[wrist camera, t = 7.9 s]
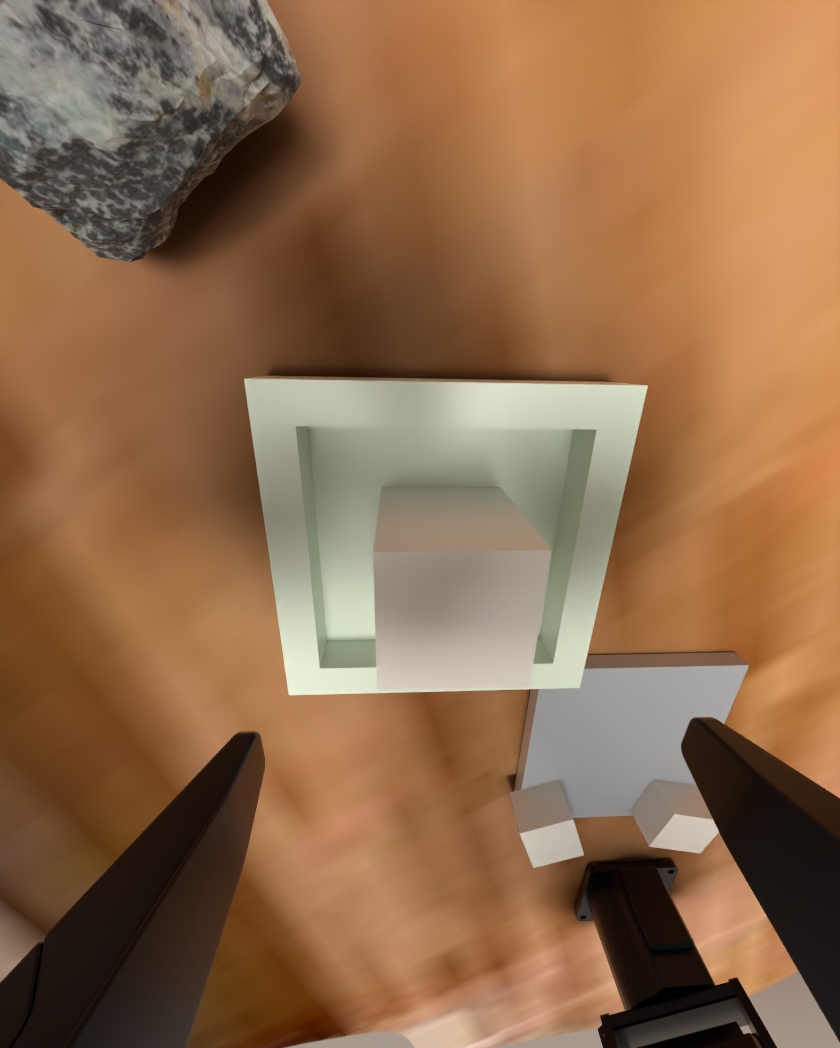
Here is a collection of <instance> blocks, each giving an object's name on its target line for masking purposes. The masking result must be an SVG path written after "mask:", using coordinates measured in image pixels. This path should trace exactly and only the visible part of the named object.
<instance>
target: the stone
mask: <svg viewBox="0 0 840 1048" xmlns="http://www.w3.org/2000/svg"><path fill="white" fill-rule="evenodd" d="M300 83H301V76H300V72H299V69H298V66H297V63H296V61H295V58H294V56H293V53H292V51H291V49H290V47H289V43H288V40H287V38H286V36H285V34H284V33H283V31H282V29H281V27H280V25H279V23H278V21H277V19H276V17H275V15H274V13H273V11H272V10H271V8H270V6H269V4H268V2H267V0H0V179H2V180H3V181H4V182H6V183H7V184H8V185H9V186H11V187H12V188H13V189H14V190H16V191H17V192H18V193H19V194H20V195H21V196H22V197H23V198H25V199H26V200H27V201H28V202H29V203H30V204H31V205H32V206H33V207H37V208H40V209H41V210H43V211H45V212H46V213H48V214H49V215H51V216H52V217H53V218H54V219H55V220H56V221H57V222H59V223H60V224H61V225H62V226H63V227H64V228H66V229H67V230H68V231H69V232H70V233H71V234H72V235H73V236H74V237H75V238H77V239H79V240H80V241H81V242H82V243H83V244H84V245H85V246H86V247H87V248H91V249H92V250H93V251H94V252H95V253H96V255H97V256H98V257H103V258H108V259H113V260H119V261H125V262H132V261H135V260H139V259H142V258H143V257H144V255H145V254H146V253H147V252H148V251H149V250H150V249H151V248H156V247H158V246H159V245H161V244H163V243H164V241H165V240H166V239H167V238H168V236H169V235H170V233H171V231H172V229H173V227H174V225H175V222H176V218H177V215H178V208H179V206H180V205H181V204H182V203H183V202H184V201H185V200H186V198H187V197H188V195H189V194H190V193H191V192H192V190H193V189H194V188H195V187H196V186H197V185H198V184H199V183H200V182H201V181H202V180H203V179H204V177H206V176H208V175H210V174H212V173H214V172H215V170H216V168H217V167H218V165H219V163H220V162H221V160H222V159H223V158H224V157H225V155H226V154H228V153H229V152H230V151H231V150H232V149H233V147H234V146H235V145H237V144H238V143H239V142H240V141H241V140H242V139H243V138H245V137H246V136H247V135H249V134H250V133H252V132H253V131H254V130H256V129H257V128H259V127H261V126H262V125H264V124H266V123H267V122H269V121H271V120H272V119H274V118H275V117H276V116H277V115H278V114H279V113H280V112H281V111H282V110H283V108H284V107H285V106H286V105H287V103H288V102H289V100H290V99H291V97H292V96H293V94H294V93H295V91H296V90H297V88H298V87H299V85H300Z"/></svg>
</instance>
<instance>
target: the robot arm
mask: <svg viewBox="0 0 840 1048" xmlns="http://www.w3.org/2000/svg"><path fill="white" fill-rule="evenodd" d="M681 752H682V755H683V758H684V760H685V762H686V764H687V766H688V768H689V770H690V772H691V775H692V777H693V779H694V781H695V783H696V785H697V787H698V789H699V791H700V793H701V796H702V798H703V800H704V802H705V804H706V806H707V808H708V810H709V812H710V814H711V816H712V819H713V821H714V823H715V825H716V827H717V829H718V831H719V833H720V835H721V837H722V839H723V840H724V842H725V844H726V846H727V848H728V849H729V851H730V853H731V855H732V856H733V858H734V860H735V862H736V863H737V865H738V867H739V869H740V870H741V872H742V874H743V875H744V877H745V879H746V881H747V882H748V884H749V886H750V888H751V889H752V891H753V893H754V895H755V896H756V898H757V900H758V901H759V903H760V905H761V907H762V908H763V910H764V912H765V914H766V915H767V917H768V919H769V921H770V922H771V924H772V926H773V927H774V929H775V931H776V933H777V934H778V936H779V938H780V940H781V941H782V943H783V945H784V947H785V948H786V950H787V952H788V953H789V955H790V957H791V959H792V960H793V962H794V964H795V966H796V967H797V969H798V971H799V972H800V974H801V976H802V978H803V979H804V981H805V983H806V984H807V986H808V988H809V990H810V991H811V993H812V995H813V997H814V998H815V1000H816V1002H817V1004H818V1005H819V1007H820V1009H821V1011H822V1012H823V1014H824V1016H825V1018H826V1019H827V1021H828V1023H829V1024H830V1026H831V1028H832V1029H833V1031H834V1033H835V1035H836V1036H837V1038H838V1040H839V1042H840V798H838V797H837V796H835V795H834V794H832V793H831V792H829V791H827V790H826V789H824V788H823V787H821V786H820V785H818V784H817V783H815V782H813V781H812V780H810V779H809V778H807V777H806V776H804V775H803V774H801V773H800V772H798V771H796V770H795V769H793V768H792V767H790V766H789V765H787V764H786V763H784V762H782V761H781V760H779V759H778V758H776V757H775V756H773V755H772V754H770V753H768V752H767V751H765V750H764V749H762V748H761V747H759V746H758V745H756V744H754V743H753V742H751V741H750V740H748V739H747V738H745V737H744V736H742V735H740V734H739V733H737V732H736V731H734V730H733V729H731V728H730V727H728V726H726V725H725V724H723V723H722V722H720V721H719V720H717V719H715V718H712V717H694V718H692V719H691V720H690V722H689V724H688V726H687V729H686V732H685V734H684V737H683V739H682V742H681ZM264 770H265V756H264V751H263V746H262V741H261V736H260V734H259V732H257V731H245V732H238V733H237V734H235V735H234V736H233V737H232V738H231V739H230V740H229V741H228V742H227V743H226V745H225V746H224V747H223V748H222V749H221V750H220V751H219V752H218V753H217V754H216V755H215V756H214V757H213V758H212V759H211V760H210V761H209V763H208V764H207V765H206V766H205V767H204V768H203V769H202V770H201V771H200V772H199V773H198V774H197V775H196V776H195V777H194V778H193V779H192V781H191V782H190V783H189V784H188V785H187V786H186V787H185V788H184V789H183V790H182V791H181V792H180V793H179V794H178V795H177V796H176V798H175V799H174V800H173V801H172V802H171V803H170V804H169V805H168V806H167V807H166V808H165V809H164V810H163V811H162V812H161V813H160V814H159V816H158V817H157V818H156V819H155V820H154V821H153V822H152V823H151V824H150V825H149V826H148V827H147V828H146V829H145V830H144V831H143V832H142V834H141V835H140V836H139V837H138V838H137V839H136V840H135V841H134V842H133V843H132V844H131V845H130V846H129V847H128V848H127V849H126V851H125V852H124V853H123V854H122V855H121V856H120V857H119V858H118V859H117V860H116V861H115V862H114V863H113V864H112V865H111V866H110V867H109V869H108V870H107V871H106V872H105V873H104V874H103V875H102V876H101V877H100V878H99V879H98V880H97V881H96V882H95V883H94V884H93V885H92V887H91V888H90V889H89V890H88V891H87V892H86V893H85V894H84V895H83V896H82V897H81V898H80V899H79V900H78V901H77V902H76V903H75V905H74V906H73V907H72V908H71V909H70V910H69V911H68V912H67V913H66V914H65V915H64V916H63V917H62V918H61V919H60V920H59V922H58V923H57V924H56V925H55V926H54V927H53V928H52V929H51V930H50V931H49V932H48V933H47V934H46V935H45V937H44V940H43V942H39V943H38V944H37V945H36V946H35V947H34V948H33V949H32V950H31V951H30V952H29V953H28V954H27V955H26V956H25V957H24V958H23V959H22V960H21V961H20V963H19V964H18V965H17V966H16V967H15V968H14V969H13V970H12V971H11V972H10V973H9V974H8V975H7V976H6V977H5V978H4V979H3V980H2V981H1V982H0V1048H186V1046H187V1043H188V1040H189V1037H190V1034H191V1031H192V1027H193V1024H194V1021H195V1018H196V1015H197V1012H198V1008H199V1005H200V1002H201V999H202V996H203V993H204V989H205V986H206V983H207V980H208V977H209V974H210V970H211V967H212V964H213V961H214V958H215V954H216V951H217V948H218V945H219V942H220V939H221V935H222V932H223V929H224V926H225V923H226V920H227V916H228V913H229V910H230V907H231V904H232V901H233V897H234V894H235V891H236V888H237V885H238V882H239V878H240V875H241V872H242V868H243V865H244V861H245V857H246V853H247V848H248V844H249V839H250V835H251V830H252V826H253V821H254V816H255V812H256V807H257V803H258V798H259V793H260V789H261V784H262V780H263V775H264ZM677 872H678V869H677V867H676V865H675V863H674V862H673V861H660V862H639V863H619V864H599V865H592V866H590V867H588V869H587V872H586V875H585V878H584V882H583V885H582V888H581V892H580V895H579V898H578V901H577V905H576V908H575V915H576V918H577V920H578V921H591V920H594V923H595V926H596V928H597V931H598V934H599V937H600V940H601V943H602V946H603V949H604V951H605V954H606V957H607V960H608V963H609V966H610V969H611V972H612V974H613V977H614V980H615V983H616V986H617V989H618V992H619V995H620V997H621V1000H622V1003H623V1006H624V1009H625V1011H623V1012H620V1013H616V1014H612V1015H609V1013H607V1014H604V1015H600V1017H601V1021H602V1026H600V1027H599V1028H598V1032H599V1035H600V1038H601V1042H602V1045H603V1048H777V1047H776V1045H775V1044H774V1042H773V1040H772V1038H771V1037H770V1035H769V1033H768V1031H767V1030H766V1028H765V1026H764V1024H763V1022H762V1021H761V1019H760V1017H759V1016H758V1013H757V1012H756V1010H755V1008H754V1006H753V1005H752V1003H751V1001H750V999H749V998H748V996H747V994H746V992H745V991H744V989H743V987H742V985H741V984H740V982H739V980H738V978H737V977H736V978H732V979H729V980H728V981H729V982H727V983H723V984H720V985H716V986H715V984H714V982H713V980H712V978H711V976H710V974H709V972H708V970H707V968H706V966H705V964H704V962H703V960H702V958H701V956H700V954H699V952H698V950H697V948H696V946H695V944H694V941H693V939H692V937H691V935H690V933H689V931H688V929H687V927H686V925H685V923H684V921H683V919H682V917H681V915H680V913H679V911H678V909H677V907H676V905H675V903H674V901H673V899H672V897H671V895H670V893H669V890H670V888H671V885H672V883H673V881H674V879H675V877H676V874H677ZM745 1025H748V1026H749V1028H750V1029H751V1032H752V1034H750V1033H747V1034H743V1033H742V1031H741V1029H740V1027H741V1026H745Z"/></svg>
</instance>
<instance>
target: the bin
mask: <svg viewBox="0 0 840 1048" xmlns="http://www.w3.org/2000/svg"><path fill="white" fill-rule="evenodd" d="M244 383H245V390H246V397H247V404H248V411H249V418H250V425H251V432H252V439H253V446H254V453H255V460H256V467H257V474H258V481H259V488H260V495H261V502H262V509H263V516H264V524H265V531H266V538H267V545H268V552H269V559H270V566H271V573H272V580H273V587H274V594H275V601H276V608H277V615H278V622H279V629H280V636H281V643H282V650H283V657H284V664H285V671H286V678H287V685H288V692H289V695H317V694H357V693H397V692H438V691H478V690H519V689H559V688H580V684H581V680H582V676H583V671H584V667H585V662H586V658H587V653H588V649H589V645H590V640H591V636H592V631H593V627H594V622H595V618H596V613H597V609H598V605H599V600H600V596H601V591H602V587H603V582H604V578H605V574H606V569H607V565H608V560H609V556H610V551H611V547H612V543H613V538H614V534H615V529H616V525H617V520H618V516H619V512H620V507H621V503H622V498H623V494H624V489H625V485H626V480H627V476H628V472H629V467H630V463H631V458H632V454H633V449H634V445H635V441H636V436H637V432H638V427H639V423H640V418H641V414H642V410H643V405H644V401H645V396H646V392H647V387H648V385H639V384H629V383H620V382H603V381H547V380H490V379H433V378H376V377H319V376H260V377H252V378H244ZM381 487H501V488H502V489H503V491H504V492H505V493H506V494H507V496H508V497H509V498H510V499H511V501H512V502H513V503H514V504H515V506H516V507H517V508H518V509H519V511H520V512H521V513H522V514H523V516H524V517H525V518H526V519H527V521H528V522H529V523H530V524H531V526H532V527H533V528H534V529H535V531H536V532H537V533H538V534H539V536H540V537H541V538H542V539H543V541H544V542H545V543H546V544H547V546H548V547H549V548H550V550H551V557H550V563H549V569H548V575H547V581H546V588H545V594H544V600H543V606H542V613H541V619H540V625H539V631H538V637H537V644H536V650H535V656H534V662H533V669H532V675H531V681H530V687H506V688H466V689H427V690H387V691H377V669H376V637H375V605H374V573H373V547H374V539H375V532H376V524H377V517H378V509H379V502H380V494H381Z"/></svg>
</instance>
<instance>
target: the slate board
mask: <svg viewBox="0 0 840 1048" xmlns="http://www.w3.org/2000/svg"><path fill="white" fill-rule="evenodd" d="M748 667H749V665H748V664H747V663H746V662H745V661H744V660H743V659H742V658H740V657H739V656H738V655H737V654H736V653H735V652H717V653H667V654H618V655H587V658H586V662H585V667H584V671H583V676H582V680H581V684H580V688H559V689H531V690H530V696H529V702H528V708H527V714H526V720H525V726H524V732H523V739H522V745H521V751H520V757H519V763H518V769H517V775H516V781H515V787H514V792H511V793H509V794H510V798H511V802H512V807H513V811H514V815H515V818H516V821H517V825H518V829H519V833H520V836H521V838H522V841H523V843H524V846H525V848H526V851H527V853H528V856H529V858H530V861H531V863H532V866H533V868H536V867H540V866H544V865H548V864H552V863H556V862H559V861H563V860H567V859H571V858H575V857H579V856H583V855H584V853H583V850H582V847H581V843H580V840H579V837H578V833H577V830H576V827H575V823H574V820H573V818H587V817H610V816H633V817H634V819H635V821H636V823H637V825H638V827H639V829H640V831H641V833H642V834H643V836H644V838H645V840H646V842H647V844H648V846H649V847H655V848H663V849H670V850H678V851H686V852H693V853H701V852H702V851H703V850H704V848H705V847H706V846H707V845H708V844H709V843H710V842H711V841H712V839H713V838H714V837H715V836H716V835H717V834H718V833H719V831H718V829H717V827H716V825H715V823H714V821H713V819H712V816H711V814H710V812H709V810H708V808H707V806H706V804H705V802H704V800H703V798H702V796H701V793H700V791H699V789H698V787H697V785H696V783H695V781H694V779H693V777H692V775H691V772H690V770H689V768H688V766H687V764H686V762H685V760H684V758H683V755H682V752H681V742H682V739H683V737H684V734H685V732H686V729H687V726H688V724H689V722H690V720H691V719H692V718H694V717H712V718H715V719H717V720H719V721H720V722H722V723H723V724H724V723H725V721H726V718H727V716H728V714H729V711H730V709H731V707H732V704H733V702H734V700H735V697H736V695H737V693H738V690H739V688H740V686H741V683H742V681H743V678H744V676H745V674H746V671H747V669H748Z"/></svg>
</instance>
